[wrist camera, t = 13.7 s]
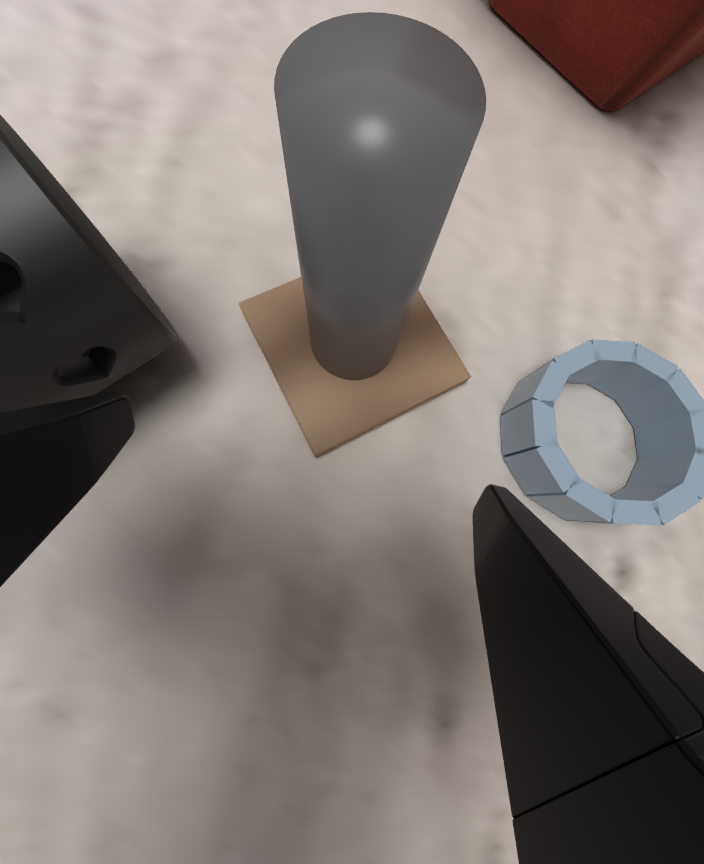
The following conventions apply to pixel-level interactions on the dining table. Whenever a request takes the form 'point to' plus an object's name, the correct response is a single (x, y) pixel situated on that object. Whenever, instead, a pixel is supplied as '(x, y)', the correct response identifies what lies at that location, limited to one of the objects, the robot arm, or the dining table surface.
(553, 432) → the collar
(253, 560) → the dining table surface
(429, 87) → the plug
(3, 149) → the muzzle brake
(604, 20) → the plant pot
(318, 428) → the mat
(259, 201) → the dining table surface
